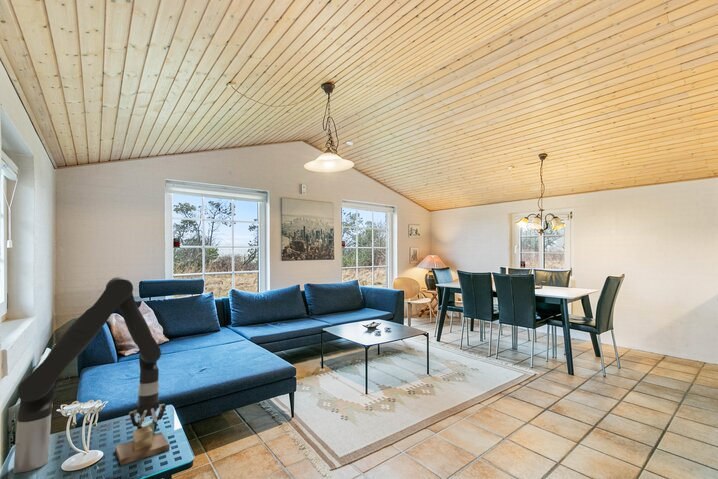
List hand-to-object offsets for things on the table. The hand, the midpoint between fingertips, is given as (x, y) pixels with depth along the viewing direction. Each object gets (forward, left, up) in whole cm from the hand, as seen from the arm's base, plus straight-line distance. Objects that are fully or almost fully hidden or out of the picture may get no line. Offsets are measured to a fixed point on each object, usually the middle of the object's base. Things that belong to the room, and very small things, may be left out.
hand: (146, 432), depth 148 cm
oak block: (-4, -13, +1) cm, 14 cm away
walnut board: (-4, -13, -1) cm, 14 cm away
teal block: (0, 0, -1) cm, 1 cm away
